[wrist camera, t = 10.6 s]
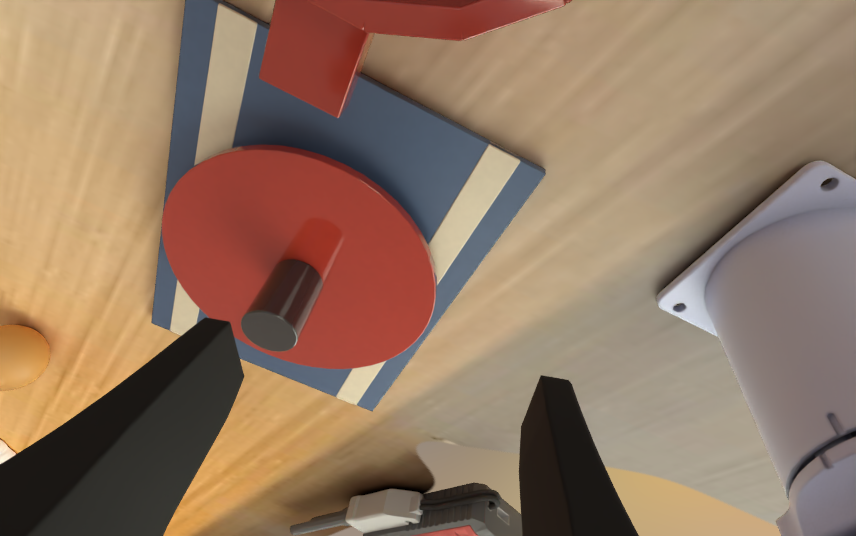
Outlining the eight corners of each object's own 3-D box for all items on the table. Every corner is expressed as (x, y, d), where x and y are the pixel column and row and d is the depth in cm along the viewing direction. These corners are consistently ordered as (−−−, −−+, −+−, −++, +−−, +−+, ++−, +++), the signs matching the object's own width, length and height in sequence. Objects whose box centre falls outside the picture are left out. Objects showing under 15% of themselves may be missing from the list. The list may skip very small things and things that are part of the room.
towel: (545, 169, 19) (545, 174, 18) (373, 406, 30) (372, 412, 30) (192, -17, 16) (185, -14, 16) (155, 318, 28) (150, 323, 28)
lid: (490, 225, 20) (483, 298, 17) (380, 383, 28) (360, 454, 25) (191, 79, 18) (112, 127, 15) (164, 294, 26) (109, 358, 22)
